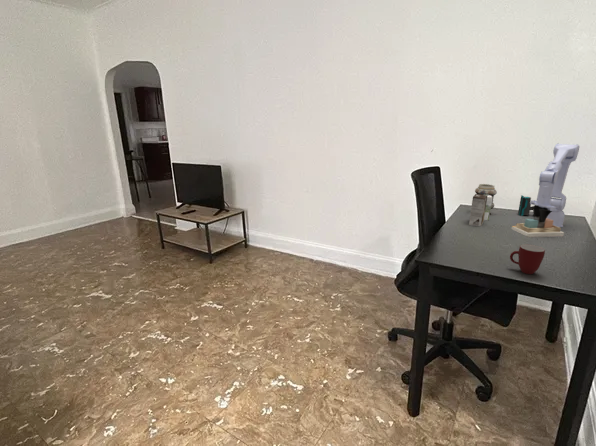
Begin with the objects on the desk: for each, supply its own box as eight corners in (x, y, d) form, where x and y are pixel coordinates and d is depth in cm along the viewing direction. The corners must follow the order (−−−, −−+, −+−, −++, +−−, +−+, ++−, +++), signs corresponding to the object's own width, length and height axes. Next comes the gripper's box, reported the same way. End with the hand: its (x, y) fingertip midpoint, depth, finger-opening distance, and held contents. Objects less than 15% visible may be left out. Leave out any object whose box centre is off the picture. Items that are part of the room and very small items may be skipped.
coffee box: (471, 221, 198) (475, 193, 193) (483, 222, 195) (488, 195, 190) (468, 224, 191) (472, 196, 186) (481, 226, 187) (485, 198, 183)
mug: (507, 272, 132) (511, 247, 129) (508, 264, 138) (512, 241, 136) (540, 278, 127) (545, 253, 124) (539, 270, 133) (544, 246, 130)
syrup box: (484, 218, 203) (488, 194, 199) (488, 221, 198) (492, 196, 194) (474, 218, 204) (478, 194, 200) (478, 220, 198) (482, 196, 194)
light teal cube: (531, 226, 178) (532, 218, 177) (536, 228, 174) (538, 220, 173) (523, 226, 178) (525, 218, 176) (529, 228, 174) (530, 221, 173)
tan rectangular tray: (546, 226, 181) (549, 214, 179) (559, 231, 173) (562, 219, 171) (515, 227, 180) (517, 215, 178) (527, 232, 172) (530, 220, 170)
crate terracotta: (545, 225, 178) (547, 218, 177) (551, 228, 174) (553, 220, 173) (538, 225, 178) (540, 218, 177) (544, 228, 174) (546, 220, 173)
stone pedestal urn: (497, 216, 208) (502, 186, 203) (477, 216, 208) (481, 187, 203) (486, 211, 220) (490, 183, 214) (467, 211, 220) (471, 183, 214)
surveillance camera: (542, 198, 200) (522, 197, 204) (538, 218, 203) (518, 216, 207) (540, 196, 204) (521, 195, 209) (536, 216, 208) (517, 214, 212)
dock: (545, 229, 183) (546, 225, 183) (563, 236, 172) (564, 232, 171) (511, 229, 182) (512, 226, 181) (527, 237, 171) (528, 233, 170)
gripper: (526, 192, 178) (521, 217, 182) (548, 198, 164) (542, 225, 168) (539, 192, 178) (534, 217, 182) (562, 198, 164) (555, 225, 168)
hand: (539, 221), depth 175 cm, fingers closed on tan rectangular tray, 3 cm apart
